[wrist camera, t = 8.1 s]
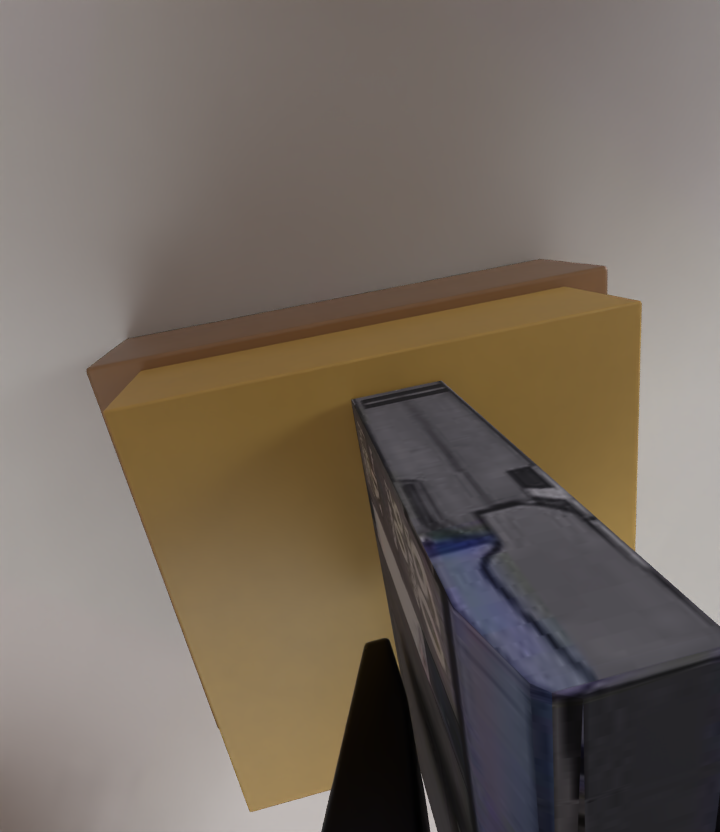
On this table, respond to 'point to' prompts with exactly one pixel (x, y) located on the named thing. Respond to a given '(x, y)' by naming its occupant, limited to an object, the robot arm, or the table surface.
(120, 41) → the table surface
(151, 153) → the table surface
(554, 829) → the mini dv tape
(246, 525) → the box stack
